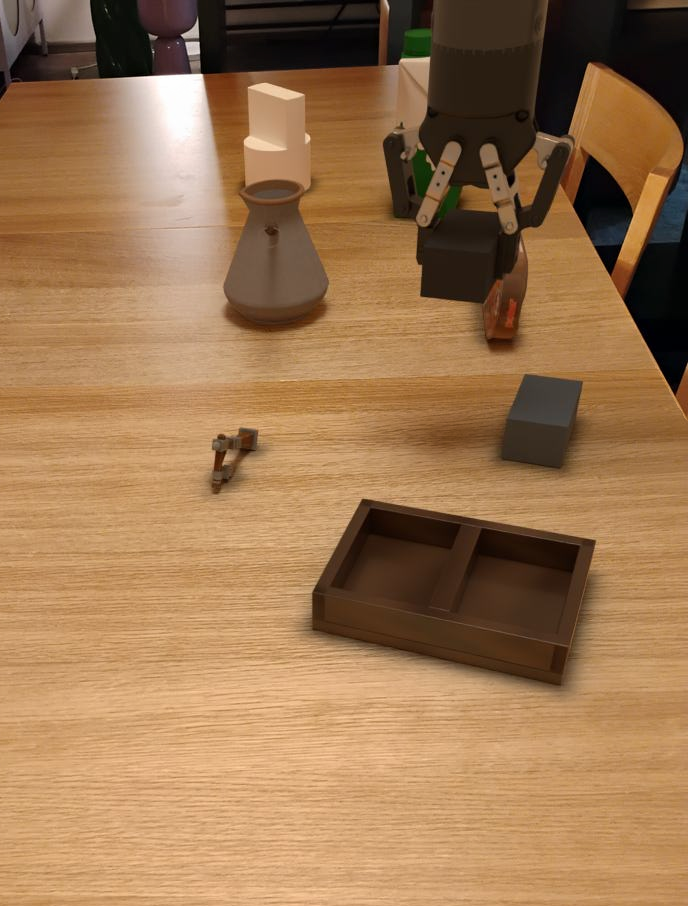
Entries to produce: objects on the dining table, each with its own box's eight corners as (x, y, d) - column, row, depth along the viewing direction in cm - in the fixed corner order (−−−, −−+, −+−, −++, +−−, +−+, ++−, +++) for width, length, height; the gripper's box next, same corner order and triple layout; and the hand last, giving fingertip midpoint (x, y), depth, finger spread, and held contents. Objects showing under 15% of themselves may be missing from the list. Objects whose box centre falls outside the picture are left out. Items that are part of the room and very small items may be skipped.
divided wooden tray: (587, 577, 76) (596, 539, 74) (560, 685, 68) (569, 647, 66) (360, 534, 82) (362, 497, 80) (311, 628, 74) (311, 592, 72)
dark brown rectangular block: (506, 262, 84) (513, 212, 81) (483, 304, 78) (489, 252, 76) (446, 256, 85) (450, 207, 83) (419, 297, 80) (423, 246, 78)
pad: (575, 421, 92) (583, 380, 90) (560, 468, 87) (568, 427, 84) (518, 413, 94) (524, 373, 91) (500, 458, 89) (506, 418, 86)
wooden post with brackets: (200, 487, 87) (205, 434, 86) (234, 474, 94) (240, 424, 93) (220, 491, 86) (225, 437, 85) (253, 477, 94) (258, 427, 92)
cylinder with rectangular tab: (324, 185, 141) (324, 89, 133) (271, 202, 137) (268, 105, 129) (284, 170, 146) (282, 77, 138) (232, 186, 143) (227, 92, 135)
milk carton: (399, 195, 136) (408, 23, 123) (468, 198, 134) (485, 23, 120) (385, 219, 130) (393, 42, 117) (458, 223, 128) (474, 42, 114)
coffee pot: (227, 289, 118) (219, 152, 108) (327, 285, 117) (328, 146, 107) (216, 380, 103) (205, 230, 92) (332, 376, 101) (333, 224, 91)
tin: (479, 290, 113) (488, 212, 108) (509, 289, 113) (519, 212, 107) (487, 354, 103) (497, 272, 97) (520, 354, 102) (532, 271, 96)
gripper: (605, 18, 70) (566, 263, 81) (401, 15, 75) (390, 246, 87) (587, 47, 65) (547, 303, 77) (369, 42, 70) (363, 283, 82)
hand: (464, 271), depth 81 cm, fingers closed on dark brown rectangular block, 5 cm apart
